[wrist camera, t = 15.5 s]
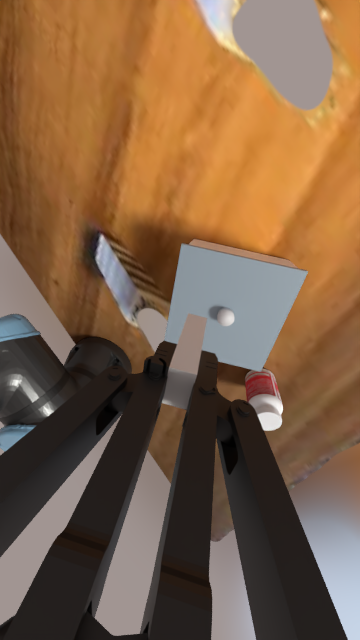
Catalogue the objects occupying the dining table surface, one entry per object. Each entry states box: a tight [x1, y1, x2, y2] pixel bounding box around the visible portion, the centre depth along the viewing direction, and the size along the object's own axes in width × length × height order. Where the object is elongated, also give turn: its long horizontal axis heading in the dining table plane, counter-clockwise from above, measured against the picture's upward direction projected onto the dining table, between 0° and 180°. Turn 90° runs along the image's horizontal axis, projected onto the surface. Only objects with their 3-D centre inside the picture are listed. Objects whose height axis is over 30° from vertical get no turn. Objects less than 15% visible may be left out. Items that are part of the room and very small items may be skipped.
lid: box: [164, 243, 308, 372], centre depth 33 cm, size 16×17×2 cm
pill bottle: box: [245, 368, 283, 431], centre depth 43 cm, size 6×6×11 cm
